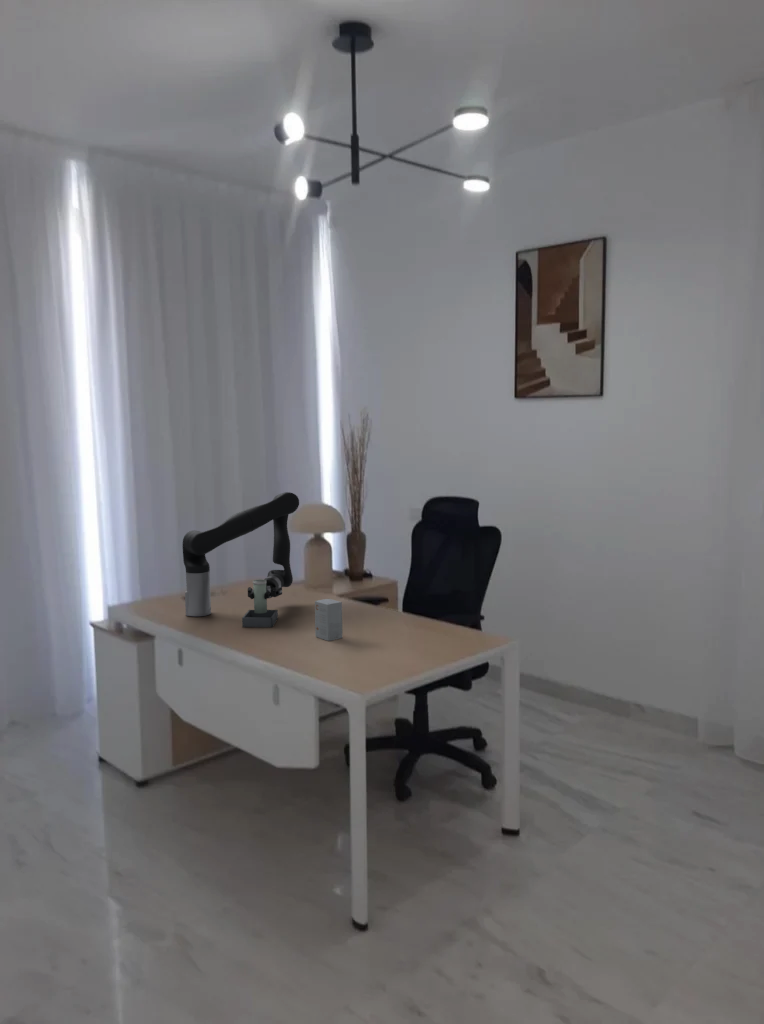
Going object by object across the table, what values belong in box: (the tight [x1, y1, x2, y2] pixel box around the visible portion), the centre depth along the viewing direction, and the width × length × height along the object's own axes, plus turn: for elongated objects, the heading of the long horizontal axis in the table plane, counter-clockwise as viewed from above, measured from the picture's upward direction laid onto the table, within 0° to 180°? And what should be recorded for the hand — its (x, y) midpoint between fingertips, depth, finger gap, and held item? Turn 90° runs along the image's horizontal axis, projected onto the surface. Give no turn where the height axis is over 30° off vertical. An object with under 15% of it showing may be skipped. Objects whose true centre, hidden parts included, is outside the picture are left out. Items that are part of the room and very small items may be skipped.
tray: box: [241, 609, 279, 628], centre depth 305 cm, size 11×13×4 cm
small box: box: [314, 598, 343, 642], centre depth 283 cm, size 8×6×13 cm
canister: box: [252, 578, 268, 614], centre depth 304 cm, size 5×5×12 cm
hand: (258, 596), depth 302 cm, fingers closed on canister, 4 cm apart
